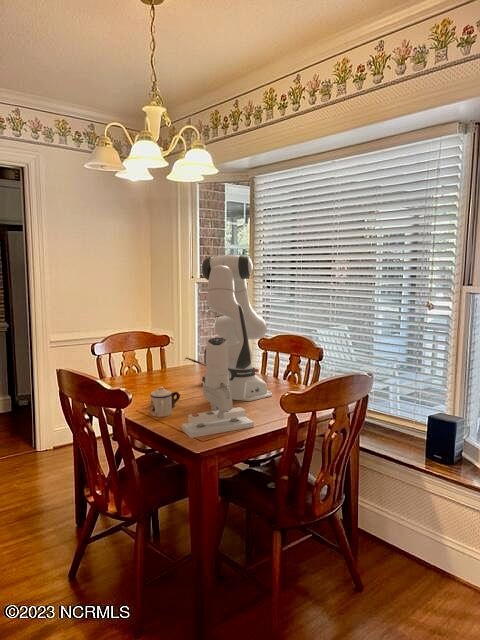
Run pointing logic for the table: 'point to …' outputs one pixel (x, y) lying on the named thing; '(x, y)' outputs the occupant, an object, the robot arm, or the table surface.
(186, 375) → the table surface
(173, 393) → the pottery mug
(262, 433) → the table surface
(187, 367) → the table surface
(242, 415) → the power strip
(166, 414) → the teacup with lid
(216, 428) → the plate
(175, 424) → the table surface
